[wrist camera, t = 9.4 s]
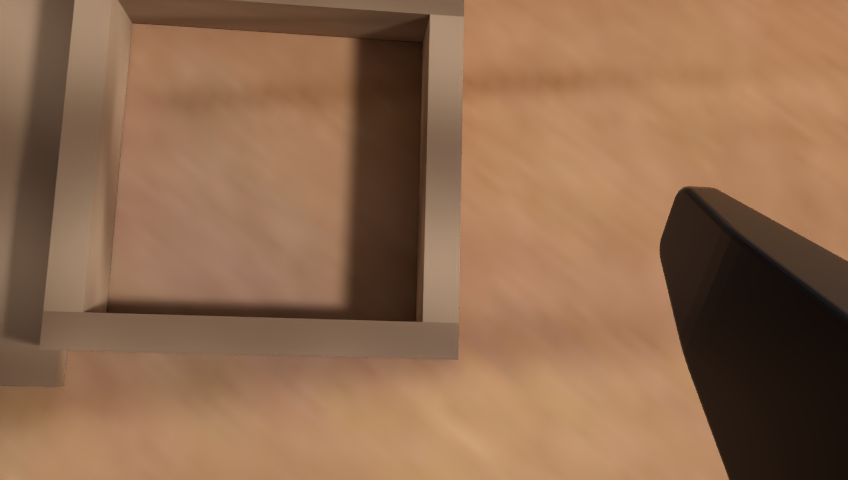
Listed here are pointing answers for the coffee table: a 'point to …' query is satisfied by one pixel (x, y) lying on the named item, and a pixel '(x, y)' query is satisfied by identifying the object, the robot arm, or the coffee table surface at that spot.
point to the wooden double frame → (99, 171)
